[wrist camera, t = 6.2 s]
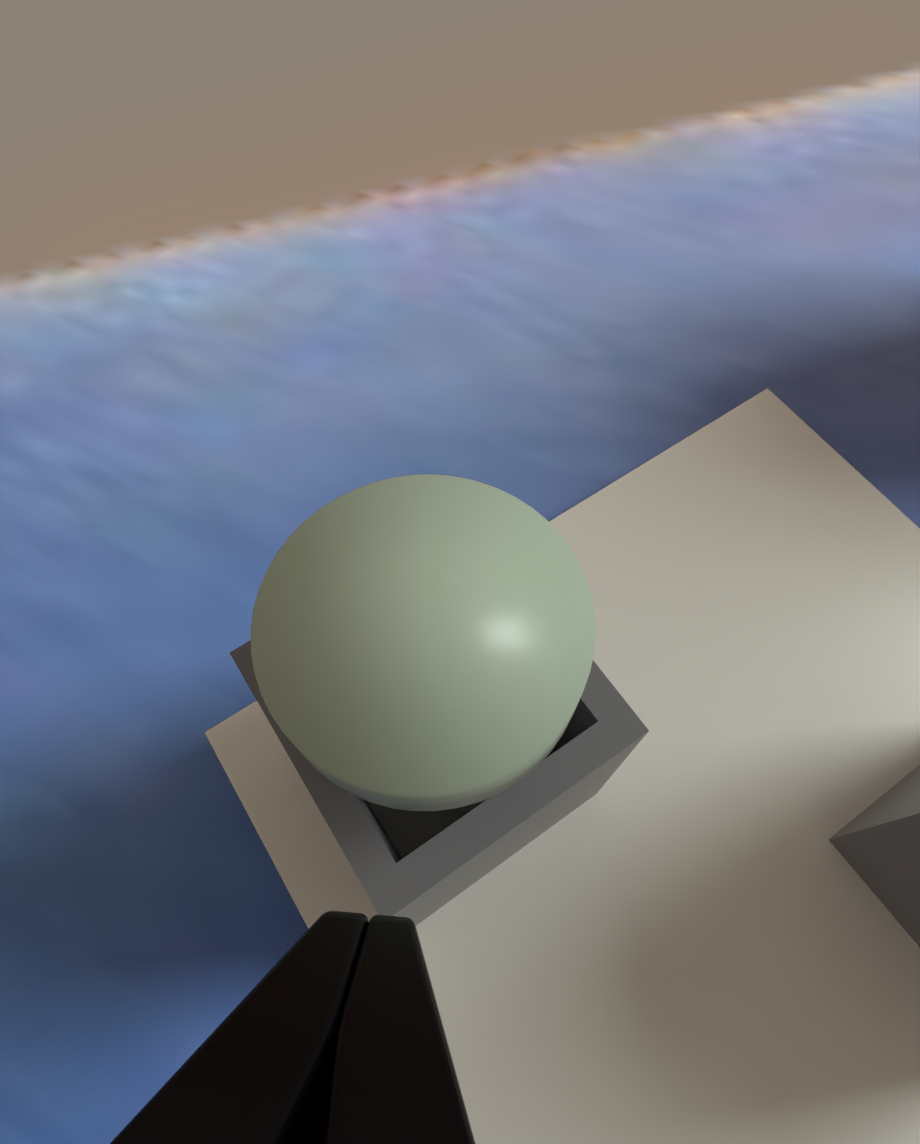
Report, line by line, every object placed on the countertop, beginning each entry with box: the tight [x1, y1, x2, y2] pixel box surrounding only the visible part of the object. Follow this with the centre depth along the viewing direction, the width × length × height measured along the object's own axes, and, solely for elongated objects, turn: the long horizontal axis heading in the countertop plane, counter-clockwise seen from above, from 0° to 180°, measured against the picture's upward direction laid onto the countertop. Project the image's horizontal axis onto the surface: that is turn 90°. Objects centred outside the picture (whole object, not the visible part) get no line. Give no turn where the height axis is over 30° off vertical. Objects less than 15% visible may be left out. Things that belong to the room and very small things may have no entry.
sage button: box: [251, 475, 596, 811], centre depth 13 cm, size 5×5×7 cm
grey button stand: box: [205, 388, 920, 1144], centre depth 16 cm, size 19×17×7 cm
